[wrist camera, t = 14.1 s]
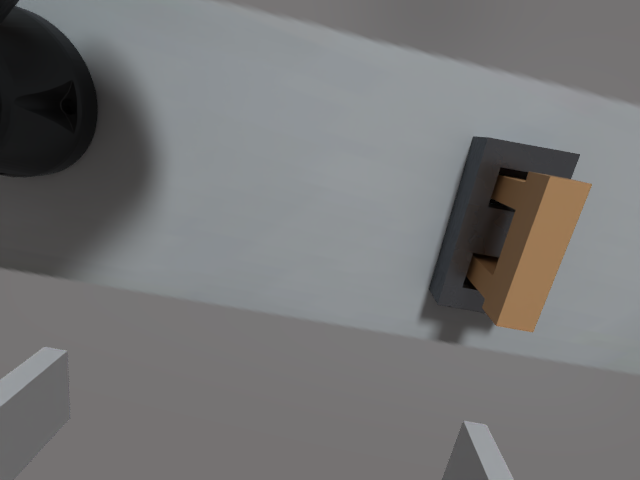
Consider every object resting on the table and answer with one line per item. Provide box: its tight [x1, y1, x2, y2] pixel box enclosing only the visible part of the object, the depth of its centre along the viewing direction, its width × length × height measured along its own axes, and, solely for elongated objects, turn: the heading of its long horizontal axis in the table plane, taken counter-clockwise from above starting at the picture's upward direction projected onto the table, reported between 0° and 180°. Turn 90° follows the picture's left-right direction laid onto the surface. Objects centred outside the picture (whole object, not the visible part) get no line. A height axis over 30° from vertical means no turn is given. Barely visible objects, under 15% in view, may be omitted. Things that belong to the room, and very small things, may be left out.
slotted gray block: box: [429, 137, 580, 313], centre depth 35 cm, size 16×8×4 cm, turn 170°
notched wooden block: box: [466, 172, 592, 332], centre depth 32 cm, size 12×3×10 cm, turn 170°
